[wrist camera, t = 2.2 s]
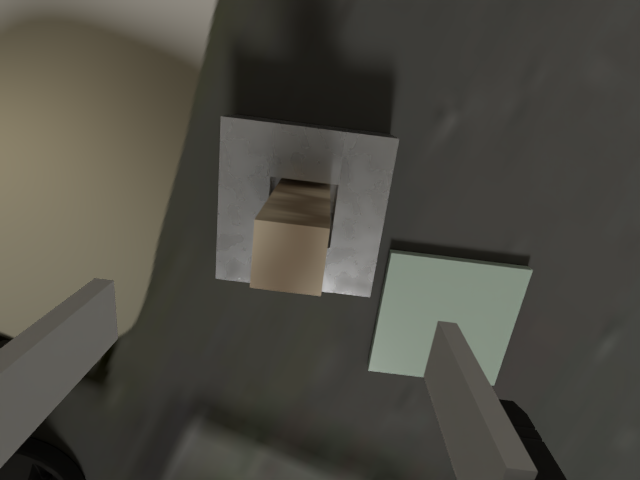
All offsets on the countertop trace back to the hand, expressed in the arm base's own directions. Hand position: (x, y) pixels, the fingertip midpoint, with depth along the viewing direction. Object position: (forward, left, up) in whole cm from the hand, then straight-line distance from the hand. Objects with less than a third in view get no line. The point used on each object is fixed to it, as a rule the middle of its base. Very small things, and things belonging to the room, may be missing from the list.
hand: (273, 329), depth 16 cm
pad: (+16, -11, -23) cm, 30 cm away
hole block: (0, 0, -23) cm, 23 cm away
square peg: (0, 0, -22) cm, 22 cm away
